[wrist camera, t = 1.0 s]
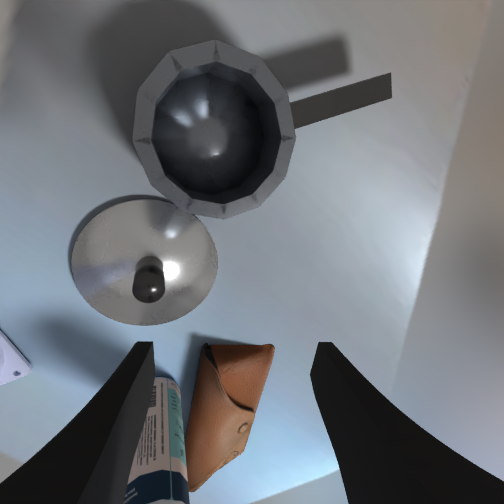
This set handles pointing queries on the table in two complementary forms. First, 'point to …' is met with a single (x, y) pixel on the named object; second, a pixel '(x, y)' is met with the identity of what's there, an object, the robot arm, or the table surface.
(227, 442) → the sunglasses case
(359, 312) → the table surface
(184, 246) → the lid
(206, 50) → the saucepan
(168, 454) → the white labeled canister
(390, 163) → the table surface
